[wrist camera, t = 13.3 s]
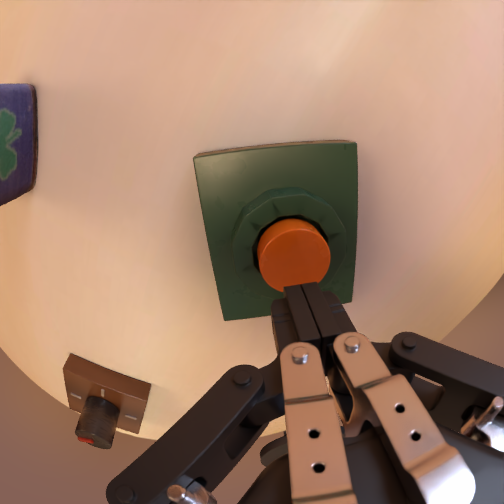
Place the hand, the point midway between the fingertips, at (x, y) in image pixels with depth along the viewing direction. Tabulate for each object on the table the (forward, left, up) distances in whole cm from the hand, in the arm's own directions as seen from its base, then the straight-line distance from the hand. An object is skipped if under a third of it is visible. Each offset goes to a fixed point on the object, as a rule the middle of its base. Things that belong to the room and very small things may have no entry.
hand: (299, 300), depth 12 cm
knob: (-18, +21, -6) cm, 28 cm away
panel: (-18, +21, -9) cm, 29 cm away
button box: (0, -1, -9) cm, 9 cm away
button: (0, -1, -5) cm, 5 cm away
